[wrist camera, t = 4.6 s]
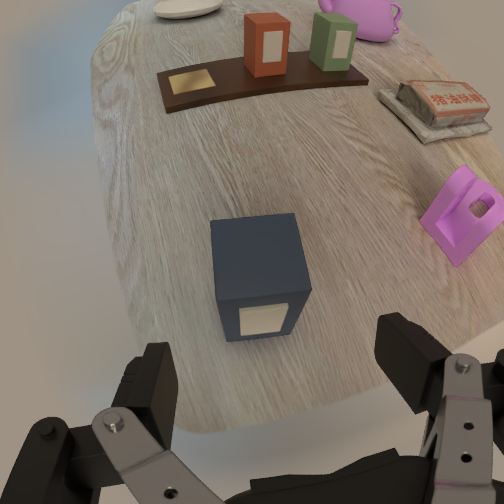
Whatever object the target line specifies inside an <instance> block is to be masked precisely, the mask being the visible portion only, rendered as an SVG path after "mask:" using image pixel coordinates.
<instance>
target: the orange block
mask: <svg viewBox="0 0 504 504" xmlns="http://www.w3.org/2000/svg"><path fill="white" fill-rule="evenodd" d="M289 34H290V21H289V20H287V19H286V18H284V17H283V16H281V15H279V14H278V13H256V14H244V65H245V66H246V68H247V69H248V70H249V71H250V73H251V74H252V75H253V76H254V78H257V77H265V76H273V75H282V74H286V67H287V56H288V45H289Z"/></svg>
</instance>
